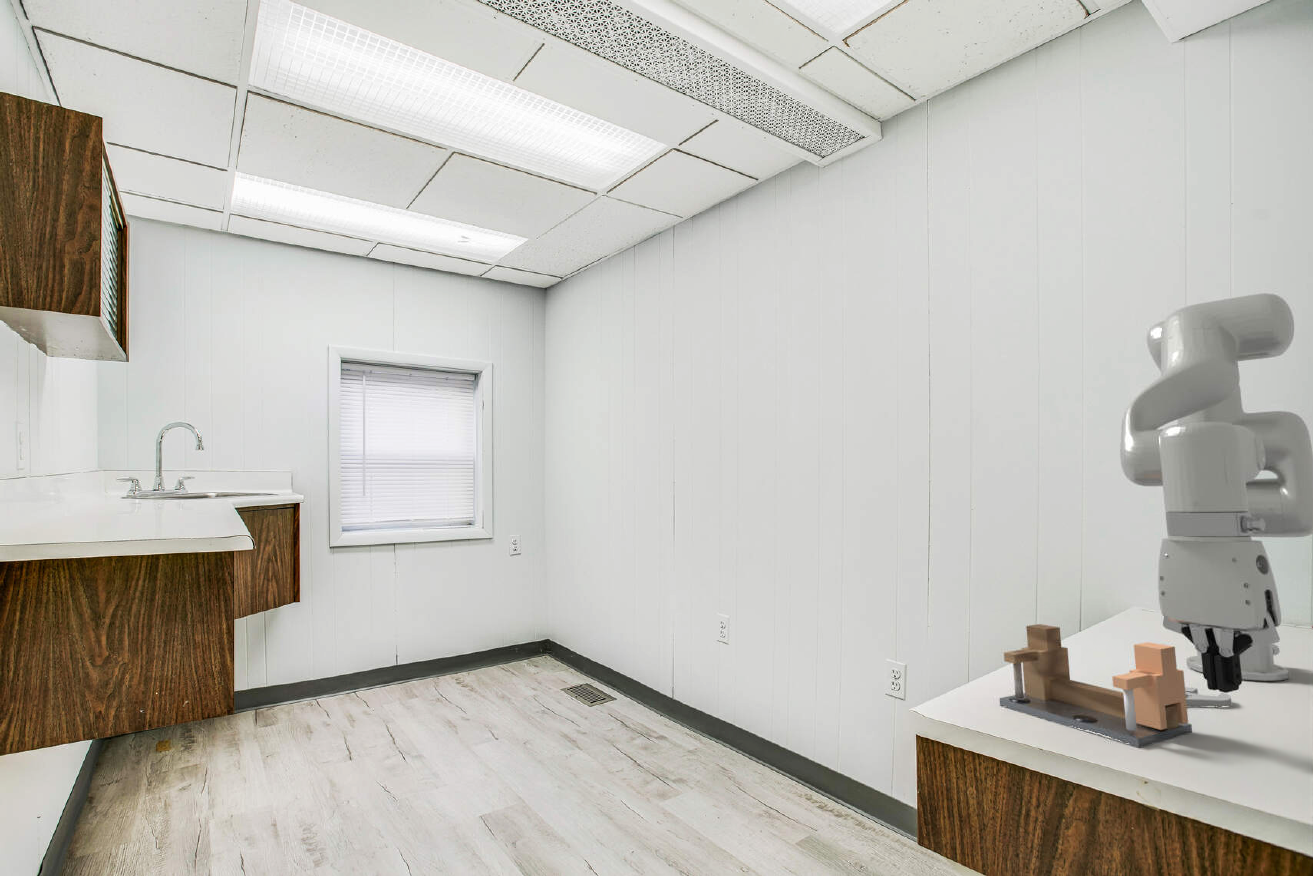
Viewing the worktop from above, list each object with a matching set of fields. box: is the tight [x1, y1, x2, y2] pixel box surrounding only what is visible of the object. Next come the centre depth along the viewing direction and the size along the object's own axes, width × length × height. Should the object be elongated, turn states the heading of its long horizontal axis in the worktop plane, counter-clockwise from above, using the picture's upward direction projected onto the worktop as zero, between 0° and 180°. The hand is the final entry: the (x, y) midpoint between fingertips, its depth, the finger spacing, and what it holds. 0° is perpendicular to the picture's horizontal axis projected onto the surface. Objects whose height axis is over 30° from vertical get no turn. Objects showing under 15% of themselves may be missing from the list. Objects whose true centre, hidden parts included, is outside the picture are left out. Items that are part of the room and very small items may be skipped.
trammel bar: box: [1003, 623, 1179, 730], centre depth 86 cm, size 10×18×10 cm, turn 25°
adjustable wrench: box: [1185, 686, 1233, 707], centre depth 91 cm, size 25×6×2 cm, turn 99°
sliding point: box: [1111, 641, 1189, 731], centre depth 80 cm, size 10×3×9 cm, turn 115°
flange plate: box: [998, 692, 1193, 749], centre depth 86 cm, size 11×18×1 cm, turn 25°
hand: (1223, 689), depth 74 cm, fingers closed
